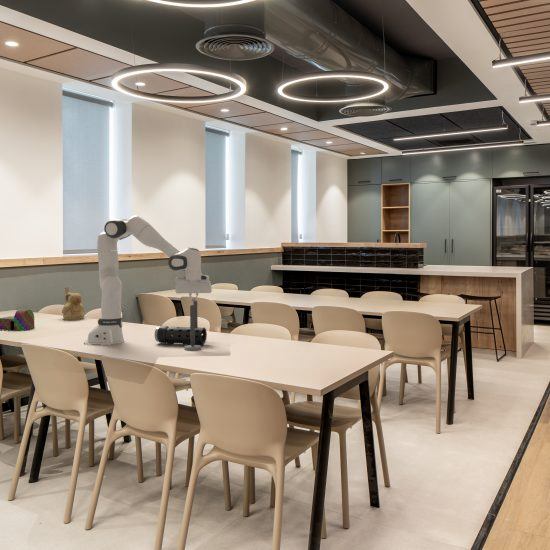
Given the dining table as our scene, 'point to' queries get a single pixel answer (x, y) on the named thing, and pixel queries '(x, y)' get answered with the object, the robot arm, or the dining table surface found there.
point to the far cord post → (195, 313)
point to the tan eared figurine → (72, 306)
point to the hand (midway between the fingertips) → (193, 301)
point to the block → (19, 321)
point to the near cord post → (192, 332)
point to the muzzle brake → (179, 335)
